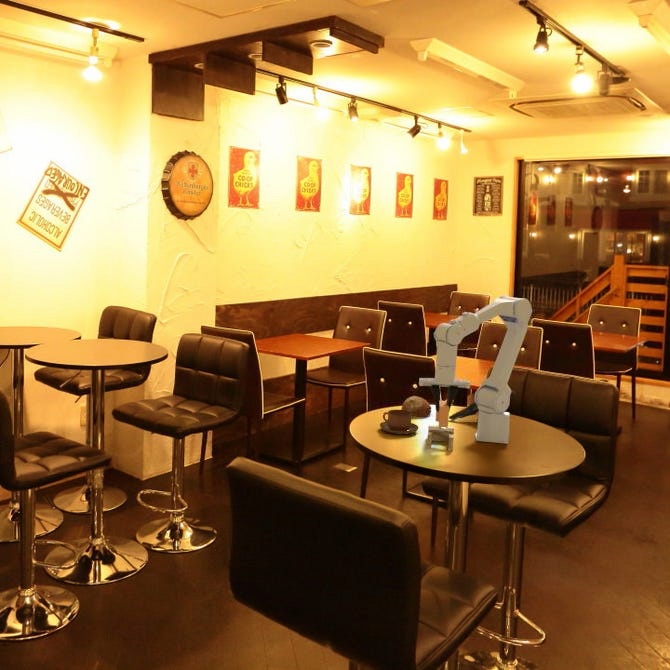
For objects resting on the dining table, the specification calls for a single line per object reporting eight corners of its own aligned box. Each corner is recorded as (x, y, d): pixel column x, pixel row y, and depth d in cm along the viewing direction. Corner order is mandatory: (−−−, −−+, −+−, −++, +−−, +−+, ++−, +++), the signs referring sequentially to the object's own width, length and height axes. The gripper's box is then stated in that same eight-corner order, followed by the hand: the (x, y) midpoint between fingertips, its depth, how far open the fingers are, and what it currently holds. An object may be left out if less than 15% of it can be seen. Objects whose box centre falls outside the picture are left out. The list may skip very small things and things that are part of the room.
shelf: (452, 439, 217) (454, 422, 217) (452, 451, 206) (454, 432, 205) (428, 437, 219) (429, 420, 218) (426, 448, 207) (427, 430, 206)
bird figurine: (451, 422, 235) (487, 372, 234) (445, 415, 245) (479, 367, 244) (484, 444, 237) (519, 394, 235) (476, 436, 246) (510, 388, 245)
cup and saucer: (375, 433, 220) (376, 414, 220) (385, 424, 232) (386, 406, 231) (413, 439, 217) (414, 419, 216) (421, 429, 228) (423, 410, 227)
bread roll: (406, 420, 254) (397, 399, 253) (433, 410, 252) (425, 389, 251) (405, 427, 244) (396, 405, 243) (433, 416, 242) (424, 394, 242)
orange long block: (443, 420, 214) (445, 400, 213) (447, 427, 206) (449, 407, 206) (435, 420, 214) (436, 400, 213) (439, 427, 206) (440, 406, 206)
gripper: (468, 364, 212) (464, 409, 214) (419, 361, 212) (416, 406, 214) (473, 368, 205) (469, 414, 207) (422, 365, 205) (418, 412, 207)
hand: (442, 411), depth 210 cm, fingers closed on orange long block, 2 cm apart
